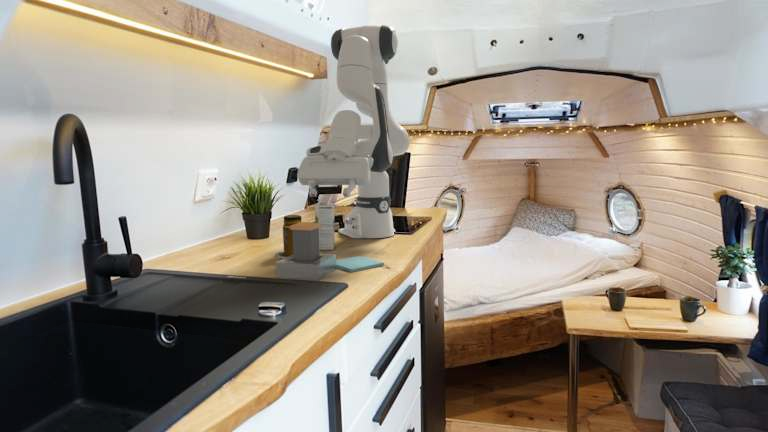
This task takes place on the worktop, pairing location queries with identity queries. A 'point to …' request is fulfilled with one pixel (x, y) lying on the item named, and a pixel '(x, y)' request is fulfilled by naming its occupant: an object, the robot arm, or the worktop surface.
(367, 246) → the worktop surface
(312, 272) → the collar
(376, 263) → the mat
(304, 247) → the grey lidded canister
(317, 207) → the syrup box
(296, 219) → the condiment
